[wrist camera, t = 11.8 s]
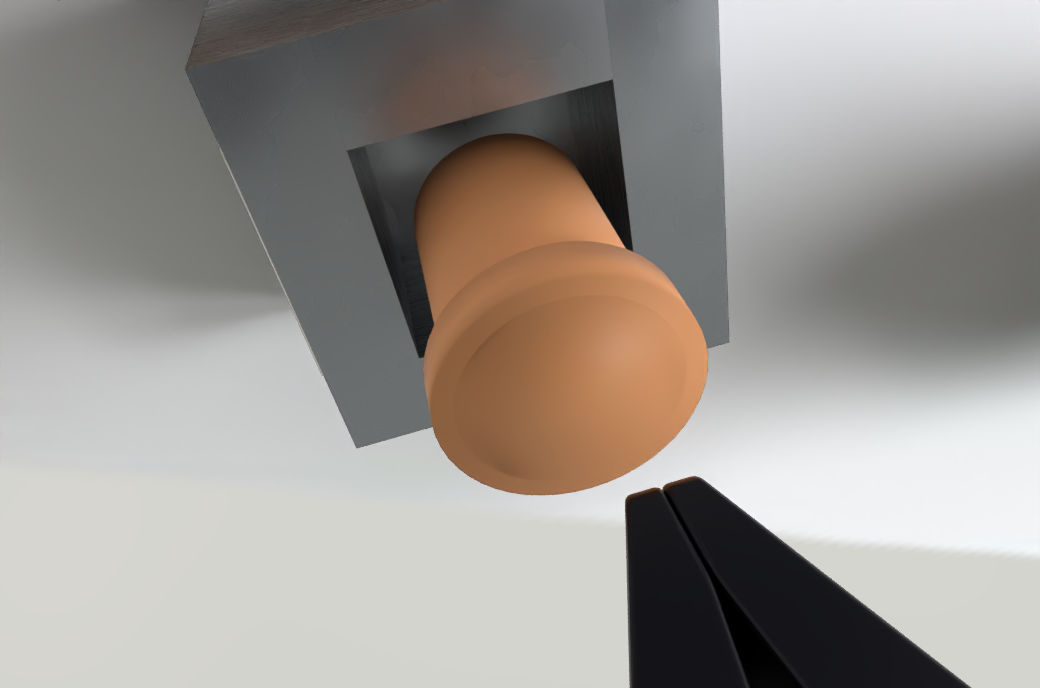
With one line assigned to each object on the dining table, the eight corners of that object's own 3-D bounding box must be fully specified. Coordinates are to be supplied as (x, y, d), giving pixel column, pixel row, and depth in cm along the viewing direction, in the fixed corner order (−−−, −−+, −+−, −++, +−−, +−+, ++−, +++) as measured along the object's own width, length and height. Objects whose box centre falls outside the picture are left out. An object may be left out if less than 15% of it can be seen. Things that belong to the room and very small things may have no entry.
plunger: (614, 275, 16) (713, 452, 12) (427, 327, 16) (466, 524, 12) (589, 90, 14) (701, 239, 10) (369, 150, 14) (395, 324, 10)
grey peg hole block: (644, 217, 22) (729, 342, 17) (338, 301, 21) (347, 451, 17) (608, -126, 16) (715, -69, 12) (206, -23, 16) (172, 73, 12)
